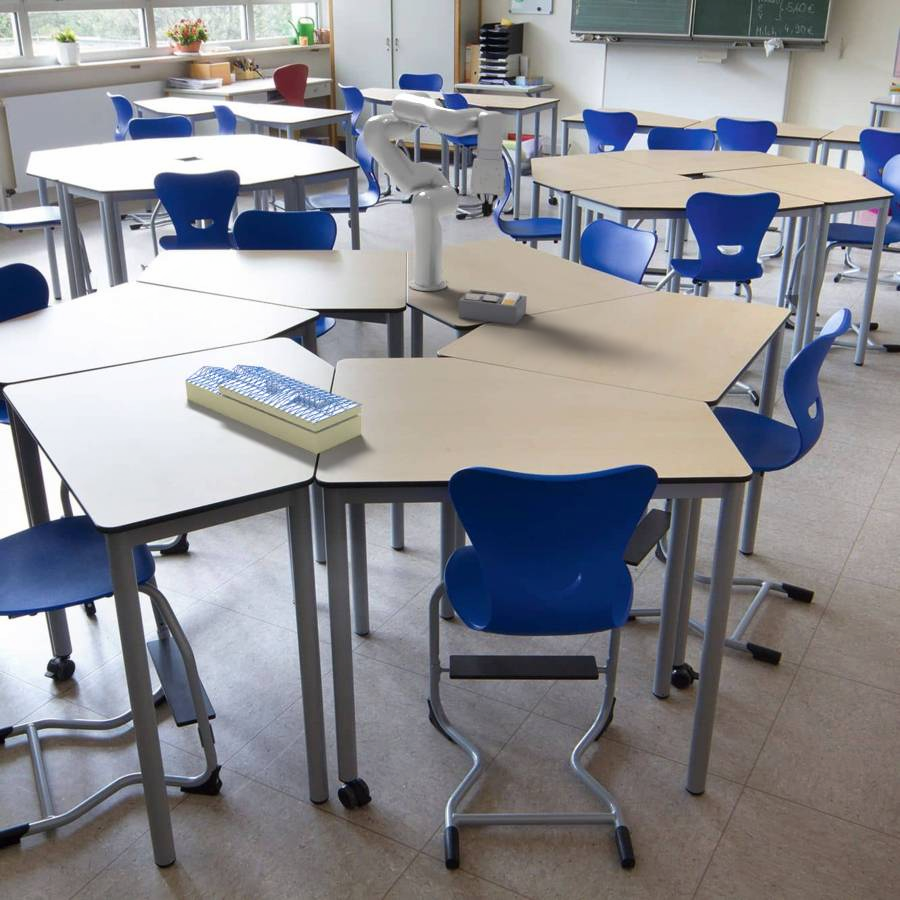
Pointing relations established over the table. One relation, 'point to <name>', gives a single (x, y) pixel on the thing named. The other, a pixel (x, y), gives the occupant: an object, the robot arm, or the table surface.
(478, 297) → the outlet rocker
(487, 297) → the outlet rocker
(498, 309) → the grey storage tray
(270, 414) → the keyboard
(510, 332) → the table surface
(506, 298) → the rocker outlet
